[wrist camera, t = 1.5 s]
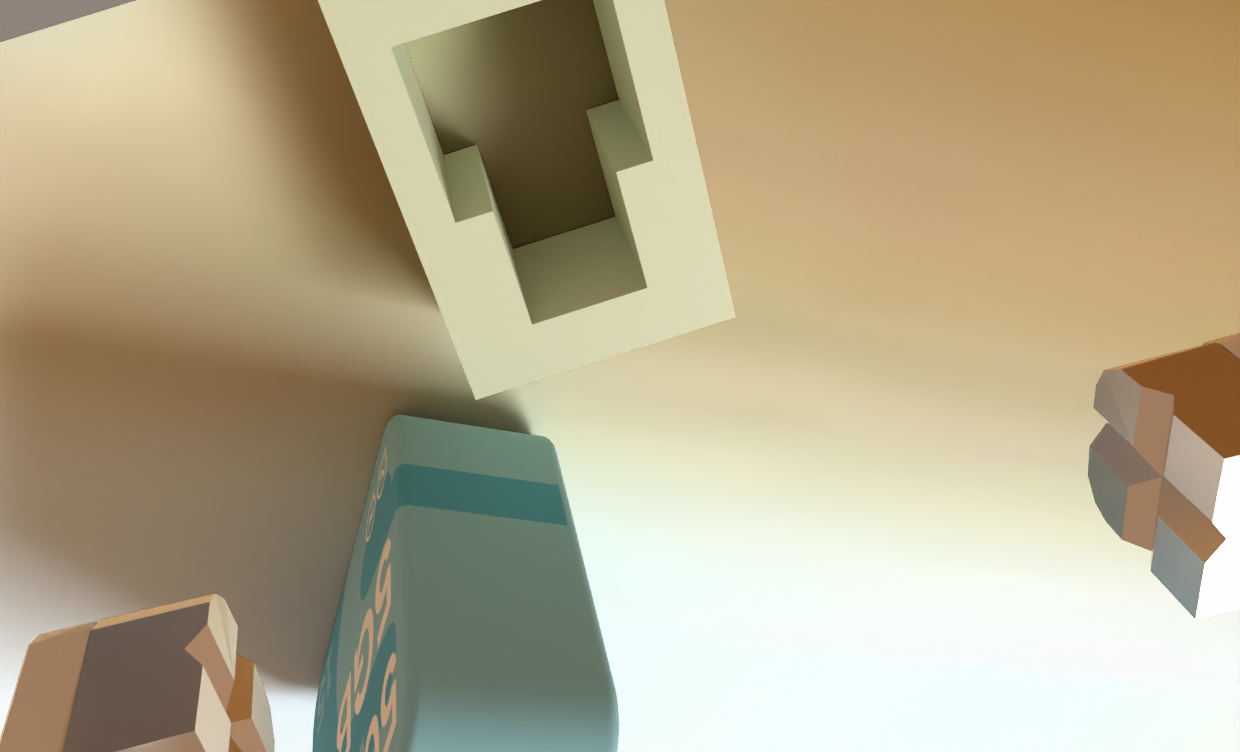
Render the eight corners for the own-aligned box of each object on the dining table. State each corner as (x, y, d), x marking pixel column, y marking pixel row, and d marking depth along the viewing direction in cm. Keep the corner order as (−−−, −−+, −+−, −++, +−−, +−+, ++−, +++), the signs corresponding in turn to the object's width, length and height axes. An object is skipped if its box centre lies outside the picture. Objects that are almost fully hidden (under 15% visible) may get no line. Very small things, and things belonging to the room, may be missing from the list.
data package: (392, 389, 32) (410, 730, 22) (550, 414, 33) (633, 745, 23) (313, 700, 37) (299, 1086, 28) (451, 711, 39) (485, 1080, 29)
